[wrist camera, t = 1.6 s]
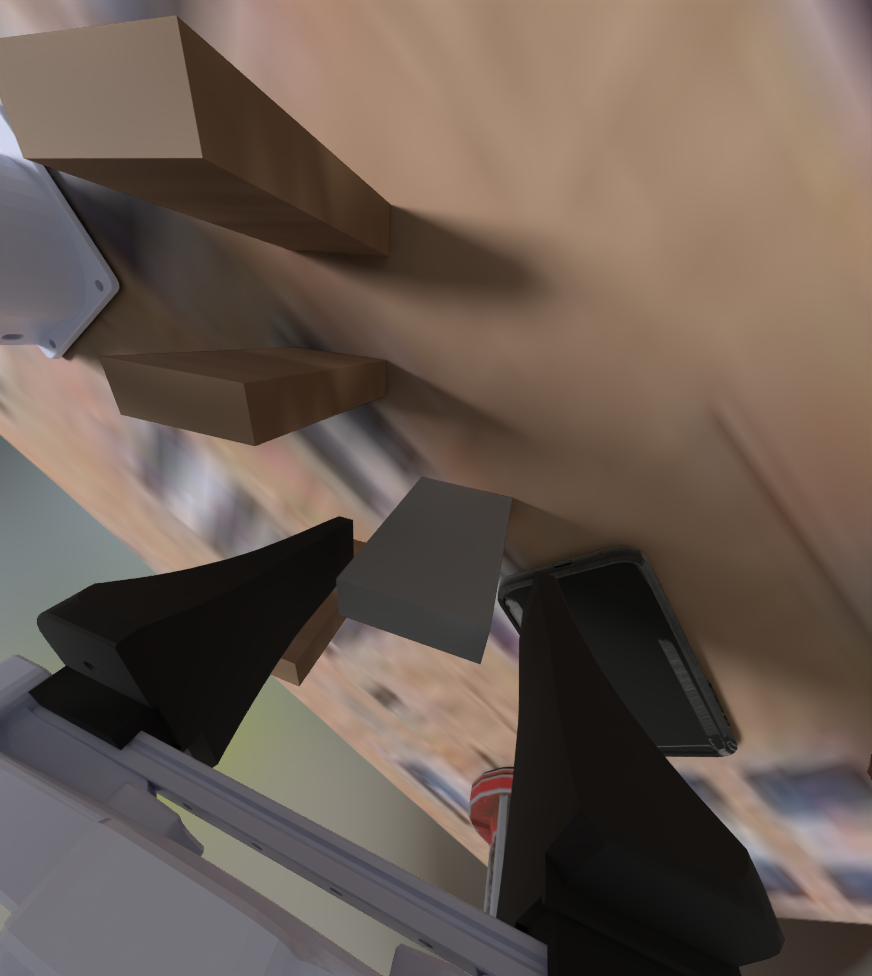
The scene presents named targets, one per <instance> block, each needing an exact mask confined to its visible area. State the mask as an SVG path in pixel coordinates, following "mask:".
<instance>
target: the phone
mask: <svg viewBox="0 0 872 976" xmlns="http://www.w3.org/2000/svg"><path fill="white" fill-rule="evenodd" d="M599 553H601V554H600V555H599ZM570 562H572V564H569V565H566V566H562V567H559V568H555V569H554V567H556V566H560V565H563V564H567V563H570ZM536 571H538V572H542V573H546V574H549V575H553V576H555V578H556V579H557V582H558V584H559V587H560V589H561V591H562V594H563V596H564V599H565V601H566V603H567V605H568V607H569V610H570V612H571V614H572V616H573V618H574V620H575V622H576V624H577V626H578V628H579V630H580V632H581V634H582V636H583V638H584V640H585V641H586V643H587V645H588V647H589V649H590V650H591V652H592V654H593V656H594V657H595V659H596V661H597V662H598V664H599V666H600V667H601V669H602V671H603V672H604V674H605V676H606V677H607V679H608V680H609V682H610V683H611V685H612V686H613V688H614V689H615V691H616V692H617V694H618V695H619V697H620V698H621V700H622V701H623V702H624V704H625V705H626V707H627V708H628V710H629V711H630V712H631V714H632V715H633V716H634V718H635V719H636V720H637V721H638V723H639V724H640V725H641V727H642V728H643V729H644V731H645V732H646V733H647V735H648V736H649V737H650V739H651V740H652V741H653V743H654V744H655V745H656V746H657V748H658V749H659V750H660V751H661V753H662V754H663V755H664V756H671V757H724V756H728V755H731V754H733V753H735V752H736V750H737V743H736V741H735V739H734V737H733V735H732V733H731V731H730V729H729V727H728V726H730V725H729V723H728V721H727V719H726V717H725V716H723V714H722V713H724V712H723V710H722V708H721V706H720V703H719V701H718V699H717V698H716V697H717V696H716V694H715V692H714V690H713V688H712V686H711V684H708V683H707V681H706V679H705V676H704V674H703V672H702V670H701V668H700V666H699V664H698V662H697V660H696V658H695V656H694V654H693V651H692V649H691V647H690V645H689V643H688V641H687V639H686V637H685V635H684V633H683V631H682V628H681V626H680V624H679V622H678V620H677V618H676V616H675V614H674V612H673V610H672V608H671V606H670V603H669V601H668V599H667V597H666V595H665V593H664V591H663V589H662V587H661V585H660V583H659V580H658V578H657V576H656V574H655V572H654V570H653V568H652V566H651V564H650V562H649V560H648V558H647V557H646V556H645V554H644V553H643V552H641V551H640V550H638V549H636V548H633V547H630V546H615V547H610V548H607V549H603V550H599V551H596V552H592V553H589V554H585V555H581V556H578V557H574V558H571V559H567V560H564V561H560V562H556V563H553V564H549V565H546V566H542V567H538V568H535V569H531V570H528V571H524V572H520V573H517V574H513V575H510V576H508V577H505V578H504V579H503V580H502V581H501V583H500V585H499V590H498V602H499V604H500V606H501V607H502V609H503V610H504V612H505V613H506V615H507V617H508V618H509V620H510V621H511V623H512V624H513V626H514V627H515V629H516V630H517V632H518V633H519V635H520V629H521V620H522V612H523V609H524V606H525V603H526V600H527V597H528V594H529V591H530V588H531V585H532V582H533V580H534V577H535V574H536Z"/></svg>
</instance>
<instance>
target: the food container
mask: <svg viewBox="0 0 872 976" xmlns="http://www.w3.org/2000/svg"><path fill="white" fill-rule="evenodd" d="M867 772H868V774H869V776H870V778H871V780H872V754H871V758H870V762H869V766H868V771H867Z"/></svg>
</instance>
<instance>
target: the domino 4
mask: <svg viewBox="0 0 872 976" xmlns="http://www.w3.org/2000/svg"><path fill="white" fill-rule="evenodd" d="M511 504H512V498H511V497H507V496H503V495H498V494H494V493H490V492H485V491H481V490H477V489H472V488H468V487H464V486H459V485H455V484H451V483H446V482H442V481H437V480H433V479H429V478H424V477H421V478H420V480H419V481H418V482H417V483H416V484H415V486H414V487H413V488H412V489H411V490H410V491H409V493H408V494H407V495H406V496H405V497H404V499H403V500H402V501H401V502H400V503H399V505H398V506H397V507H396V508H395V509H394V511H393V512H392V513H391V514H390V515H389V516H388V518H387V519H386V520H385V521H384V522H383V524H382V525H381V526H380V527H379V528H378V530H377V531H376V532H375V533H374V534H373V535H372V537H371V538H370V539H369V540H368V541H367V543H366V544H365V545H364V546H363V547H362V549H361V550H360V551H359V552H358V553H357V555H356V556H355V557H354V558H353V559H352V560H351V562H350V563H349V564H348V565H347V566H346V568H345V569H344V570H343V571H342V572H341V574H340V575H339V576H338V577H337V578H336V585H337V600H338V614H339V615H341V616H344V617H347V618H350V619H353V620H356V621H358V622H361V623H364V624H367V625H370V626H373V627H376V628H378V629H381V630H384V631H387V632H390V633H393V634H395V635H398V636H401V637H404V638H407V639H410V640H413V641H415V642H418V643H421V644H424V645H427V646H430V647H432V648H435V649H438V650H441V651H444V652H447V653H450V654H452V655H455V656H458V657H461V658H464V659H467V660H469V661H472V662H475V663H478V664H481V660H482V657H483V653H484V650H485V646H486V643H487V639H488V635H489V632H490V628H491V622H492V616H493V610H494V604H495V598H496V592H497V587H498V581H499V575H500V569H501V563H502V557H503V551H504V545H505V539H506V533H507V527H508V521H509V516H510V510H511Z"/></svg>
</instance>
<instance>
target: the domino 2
mask: <svg viewBox="0 0 872 976" xmlns="http://www.w3.org/2000/svg"><path fill="white" fill-rule="evenodd" d="M99 358H100V361H101V364H102V366H103V369H104V371H105V374H106V377H107V379H108V382H109V384H110V387H111V390H112V392H113V395H114V398H115V400H116V403H117V405H118V408H119V411H120V413H121V415H125V416H129V417H134V418H138V419H142V420H146V421H151V422H155V423H159V424H163V425H168V426H172V427H176V428H180V429H185V430H189V431H193V432H197V433H202V434H206V435H210V436H214V437H219V438H223V439H227V440H231V441H235V442H240V443H244V444H248V445H252V446H257V445H259V444H262V443H264V442H267V441H270V440H272V439H275V438H277V437H280V436H283V435H285V434H288V433H290V432H293V431H295V430H298V429H301V428H303V427H306V426H308V425H311V424H313V423H316V422H319V421H321V420H324V419H326V418H329V417H332V416H334V415H337V414H339V413H342V412H344V411H347V410H350V409H352V408H355V407H357V406H360V405H363V404H365V403H368V402H370V401H373V400H375V399H378V398H381V397H383V396H386V365H387V360H381V359H375V358H368V357H361V356H354V355H348V354H341V353H334V352H327V351H321V350H314V349H307V348H301V347H288V348H267V349H245V350H224V351H202V352H180V353H159V354H137V355H115V356H99Z"/></svg>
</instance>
